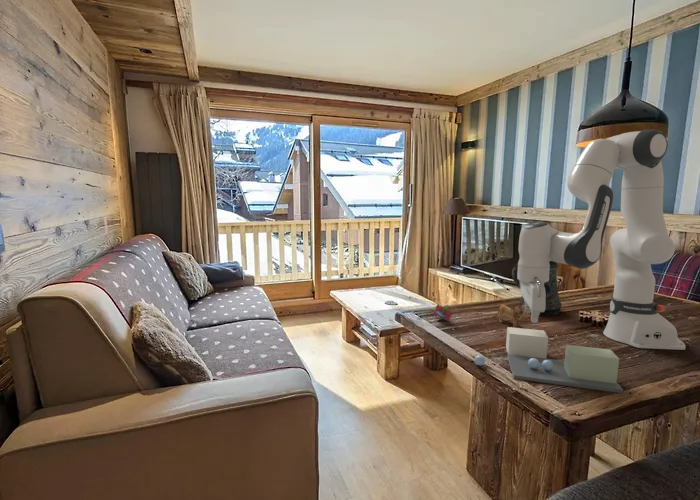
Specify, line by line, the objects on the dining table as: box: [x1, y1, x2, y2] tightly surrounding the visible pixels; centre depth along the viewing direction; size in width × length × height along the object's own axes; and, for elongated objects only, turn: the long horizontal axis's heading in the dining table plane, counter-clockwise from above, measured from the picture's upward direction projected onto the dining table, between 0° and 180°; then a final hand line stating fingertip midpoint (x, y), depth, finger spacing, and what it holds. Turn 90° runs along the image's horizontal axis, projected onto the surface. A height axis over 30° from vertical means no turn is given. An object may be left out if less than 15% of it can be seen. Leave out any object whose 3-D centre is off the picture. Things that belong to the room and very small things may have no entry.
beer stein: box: [511, 261, 562, 316], centre depth 158 cm, size 16×19×25 cm
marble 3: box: [542, 360, 554, 371], centre depth 104 cm, size 3×3×3 cm
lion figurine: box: [492, 304, 530, 328], centre depth 143 cm, size 15×5×9 cm, turn 37°
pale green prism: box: [563, 344, 620, 384], centre depth 100 cm, size 11×6×7 cm, turn 73°
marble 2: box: [528, 358, 540, 369], centre depth 105 cm, size 3×3×3 cm
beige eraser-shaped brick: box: [505, 326, 549, 359], centre depth 117 cm, size 11×6×7 cm, turn 73°
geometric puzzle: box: [433, 304, 453, 323], centre depth 146 cm, size 7×7×8 cm
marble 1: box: [474, 354, 486, 366], centre depth 109 cm, size 3×3×3 cm
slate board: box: [507, 353, 624, 394], centre depth 104 cm, size 26×14×1 cm, turn 73°
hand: (531, 316), depth 115 cm, fingers open, 8 cm apart
